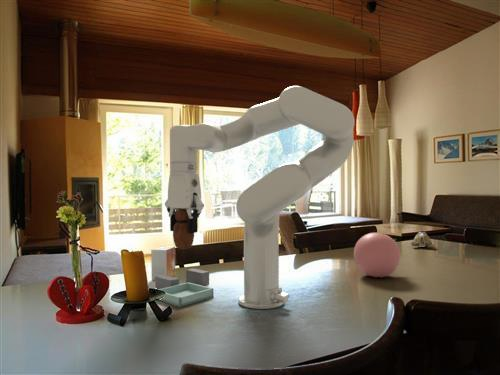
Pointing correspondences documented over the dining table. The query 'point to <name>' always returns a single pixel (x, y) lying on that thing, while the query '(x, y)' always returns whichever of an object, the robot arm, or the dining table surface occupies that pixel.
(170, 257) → the small box
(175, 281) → the grey blocks
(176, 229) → the wooden figurine
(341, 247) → the dining table surface
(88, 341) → the dining table surface
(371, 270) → the pink rubber ball
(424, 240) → the ceramic sculpture
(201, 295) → the tray
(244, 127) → the robot arm
